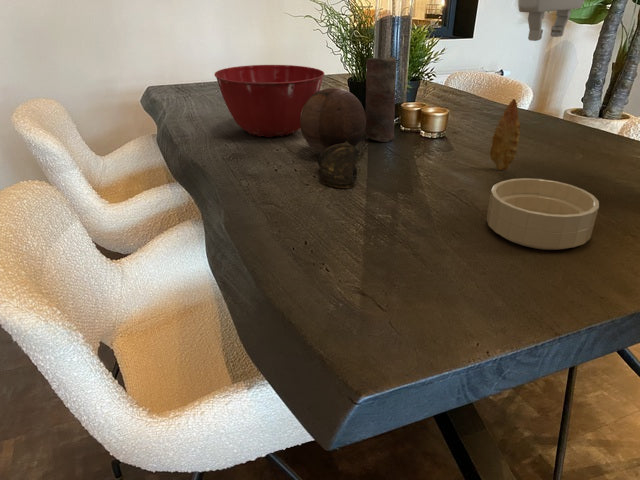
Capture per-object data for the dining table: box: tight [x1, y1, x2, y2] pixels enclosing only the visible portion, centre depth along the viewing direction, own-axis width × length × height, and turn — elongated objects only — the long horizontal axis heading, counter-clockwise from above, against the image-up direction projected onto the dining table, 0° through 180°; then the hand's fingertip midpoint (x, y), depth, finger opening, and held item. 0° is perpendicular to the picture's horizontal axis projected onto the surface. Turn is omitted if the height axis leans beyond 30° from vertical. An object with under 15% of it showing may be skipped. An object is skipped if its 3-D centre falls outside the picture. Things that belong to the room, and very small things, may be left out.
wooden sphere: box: [300, 87, 366, 154], centre depth 111 cm, size 15×15×15 cm
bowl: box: [486, 177, 600, 251], centre depth 77 cm, size 15×15×6 cm
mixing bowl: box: [214, 64, 326, 138], centre depth 130 cm, size 28×28×15 cm
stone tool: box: [489, 98, 521, 171], centre depth 101 cm, size 5×2×15 cm, turn 80°
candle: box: [364, 56, 397, 143], centre depth 121 cm, size 8×7×20 cm
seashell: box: [317, 141, 360, 189], centre depth 101 cm, size 16×9×7 cm, turn 179°
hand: (545, 38), depth 89 cm, fingers open, 8 cm apart
